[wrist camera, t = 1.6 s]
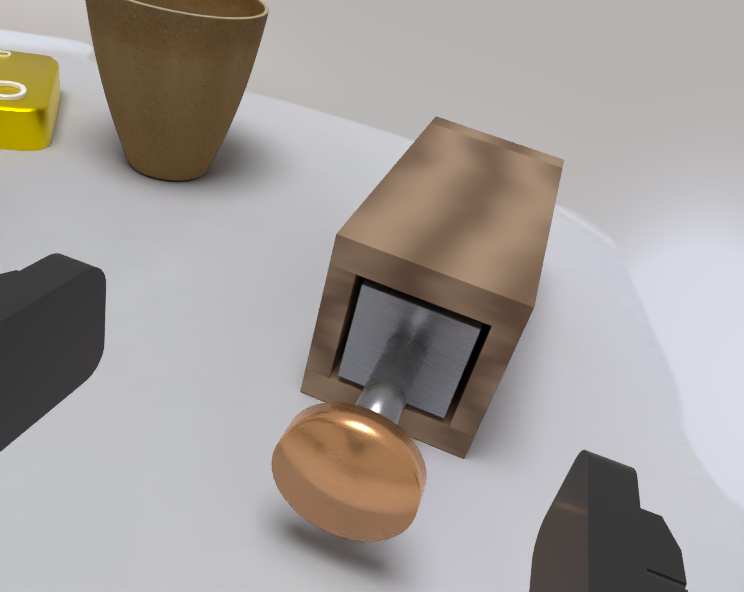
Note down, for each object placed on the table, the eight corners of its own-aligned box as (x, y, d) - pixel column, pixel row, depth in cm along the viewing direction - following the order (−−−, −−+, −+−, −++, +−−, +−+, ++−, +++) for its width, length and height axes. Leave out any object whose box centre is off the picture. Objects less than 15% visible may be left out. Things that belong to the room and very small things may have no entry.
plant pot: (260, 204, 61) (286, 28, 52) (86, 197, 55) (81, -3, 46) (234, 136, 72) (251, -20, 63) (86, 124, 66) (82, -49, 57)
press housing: (300, 391, 42) (336, 234, 36) (400, 236, 62) (435, 116, 55) (464, 458, 41) (534, 307, 34) (513, 278, 60) (564, 159, 54)
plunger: (262, 503, 32) (283, 402, 28) (384, 296, 49) (408, 215, 45) (395, 561, 31) (437, 466, 27) (473, 330, 48) (505, 250, 44)
